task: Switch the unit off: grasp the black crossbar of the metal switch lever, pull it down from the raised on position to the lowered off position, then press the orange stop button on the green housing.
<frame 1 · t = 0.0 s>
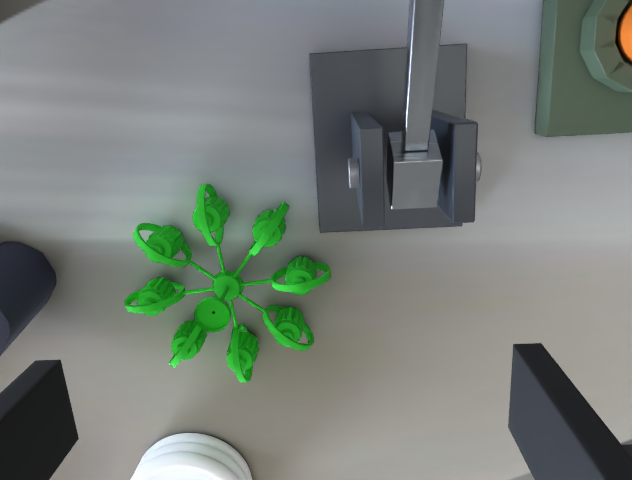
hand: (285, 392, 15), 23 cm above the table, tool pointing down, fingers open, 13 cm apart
speaker: (23, 266, 39), on the table
stop box: (619, 34, 33), on the table
switch bracket: (387, 141, 36), on the table
white stacked round discs: (197, 476, 45), on the table
switch lever: (420, 77, 21), point 14 cm above the table, hinge at 28.0°
chandelier: (233, 275, 39), on the table
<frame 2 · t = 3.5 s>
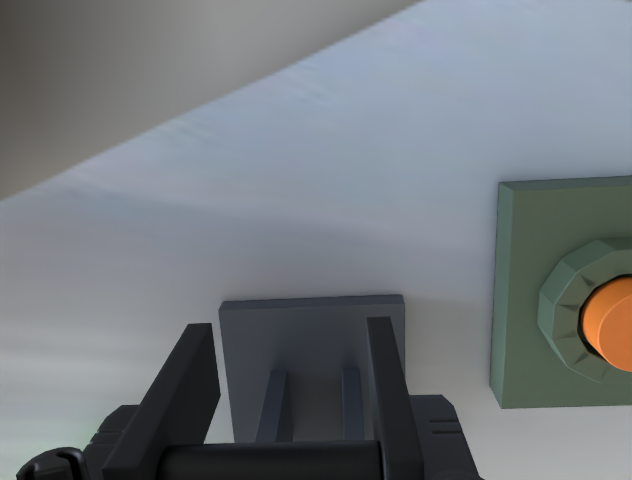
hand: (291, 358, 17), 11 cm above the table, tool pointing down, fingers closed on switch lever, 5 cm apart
stop box: (587, 286, 28), on the table
switch bracket: (317, 391, 30), on the table
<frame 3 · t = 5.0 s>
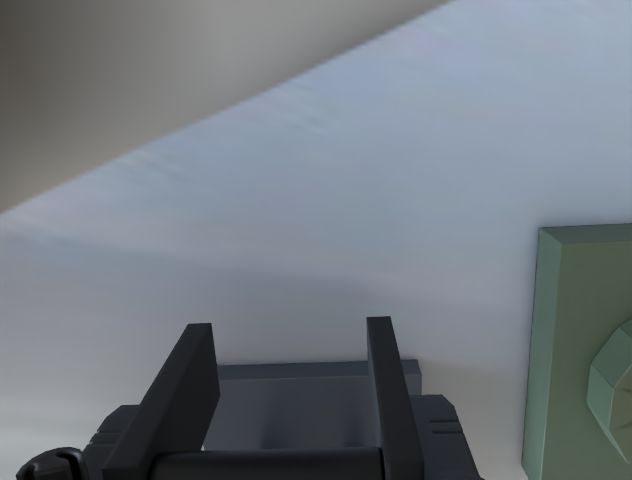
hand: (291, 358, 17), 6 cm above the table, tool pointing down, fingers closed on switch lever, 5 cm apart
switch bracket: (315, 469, 25), on the table
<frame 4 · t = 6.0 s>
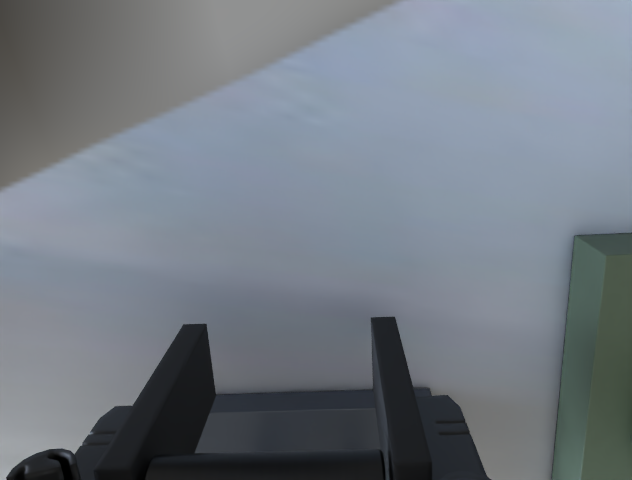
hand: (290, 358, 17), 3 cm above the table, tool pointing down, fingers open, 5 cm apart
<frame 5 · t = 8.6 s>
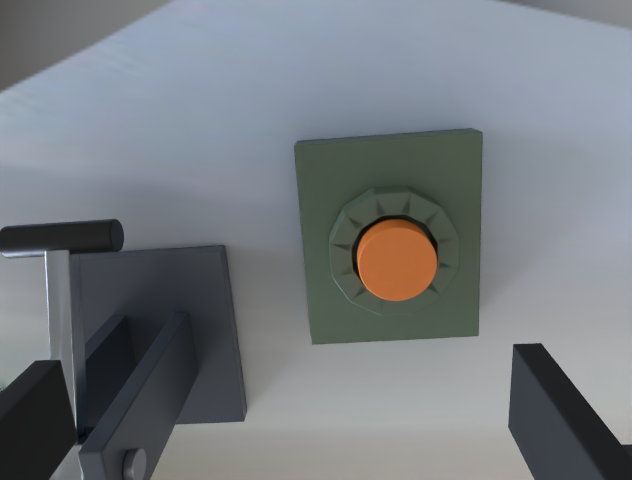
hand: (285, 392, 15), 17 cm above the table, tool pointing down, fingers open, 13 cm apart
stop box: (387, 234, 31), on the table
switch bracket: (161, 336, 34), on the table
switch lever: (68, 360, 22), point 10 cm above the table, hinge at -18.9°
stop button: (395, 259, 27), point 4 cm above the table, slide at 0.1 cm
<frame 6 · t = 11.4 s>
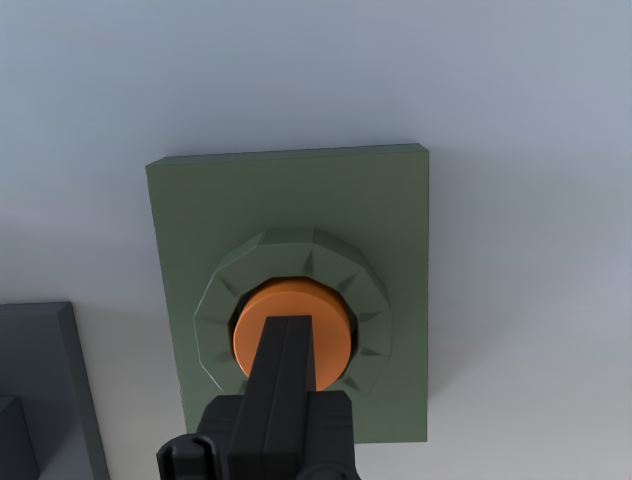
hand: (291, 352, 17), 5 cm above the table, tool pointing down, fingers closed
stop box: (300, 292, 22), on the table
stop button: (293, 334, 18), point 4 cm above the table, slide at -0.6 cm, touching gripper
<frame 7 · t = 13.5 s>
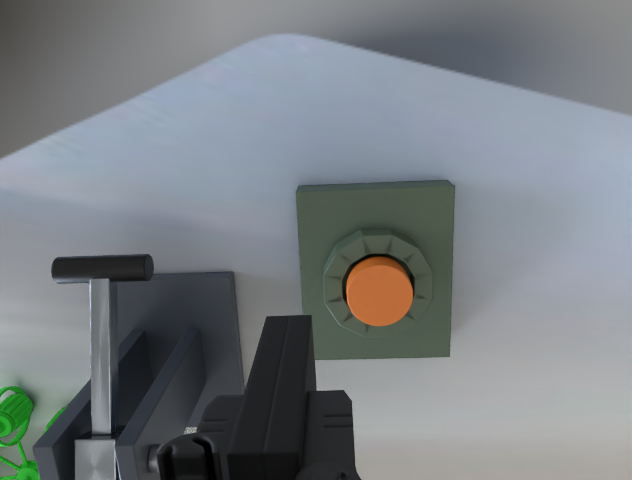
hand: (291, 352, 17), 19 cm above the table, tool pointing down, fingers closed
stop box: (373, 267, 36), on the table
switch bracket: (174, 348, 39), on the table
switch lever: (104, 369, 27), point 10 cm above the table, hinge at -18.9°
chandelier: (46, 455, 42), on the table
stop button: (378, 290, 32), point 4 cm above the table, slide at 0.1 cm
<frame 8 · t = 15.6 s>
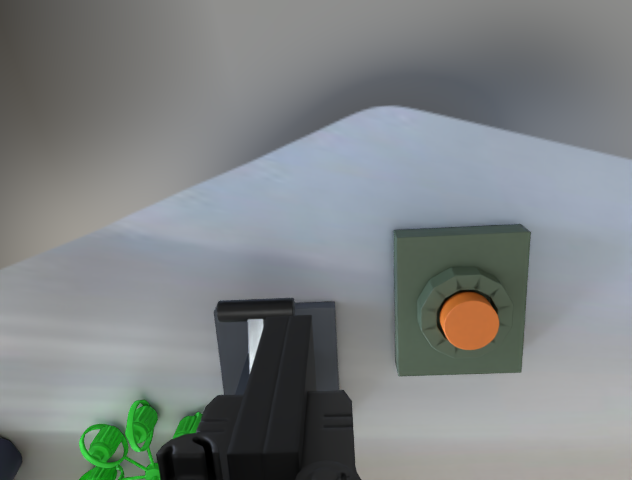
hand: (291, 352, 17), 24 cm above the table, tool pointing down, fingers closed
stop box: (455, 296, 42), on the table
switch bracket: (280, 366, 45), on the table
switch lever: (259, 391, 34), point 10 cm above the table, hinge at -18.9°
chandelier: (164, 457, 49), on the table
stop button: (468, 320, 38), point 4 cm above the table, slide at 0.1 cm
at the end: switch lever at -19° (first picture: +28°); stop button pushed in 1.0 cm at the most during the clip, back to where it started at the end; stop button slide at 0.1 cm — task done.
